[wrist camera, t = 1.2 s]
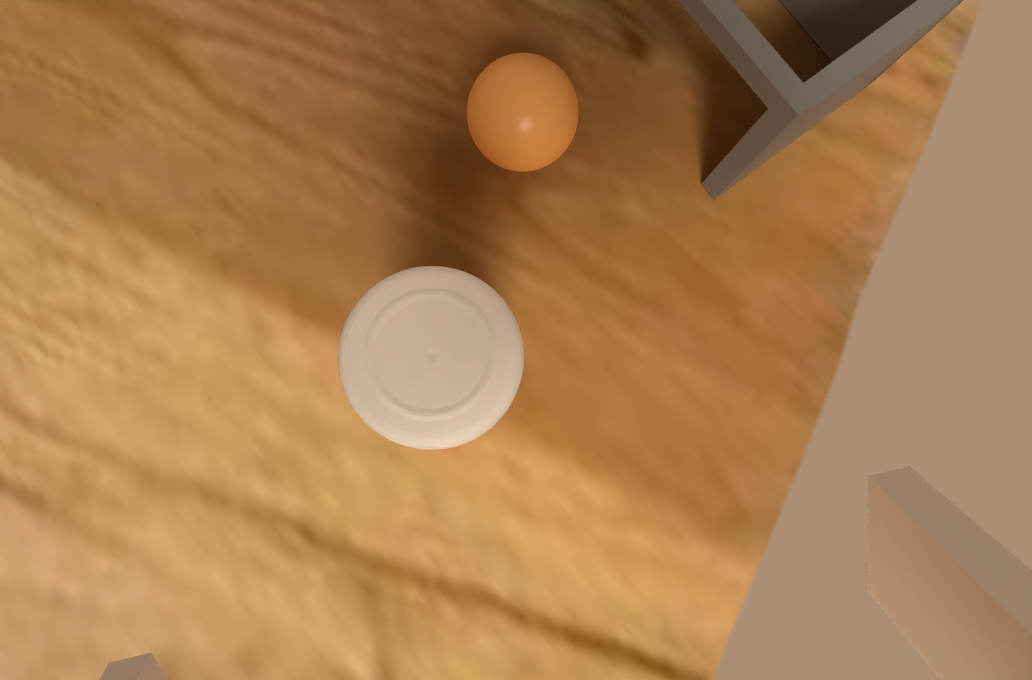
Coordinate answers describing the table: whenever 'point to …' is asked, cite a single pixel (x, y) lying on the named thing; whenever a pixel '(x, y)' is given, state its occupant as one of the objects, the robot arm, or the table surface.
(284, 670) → the table surface
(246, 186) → the table surface
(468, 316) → the sprinkles bottle
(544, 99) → the ball
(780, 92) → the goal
